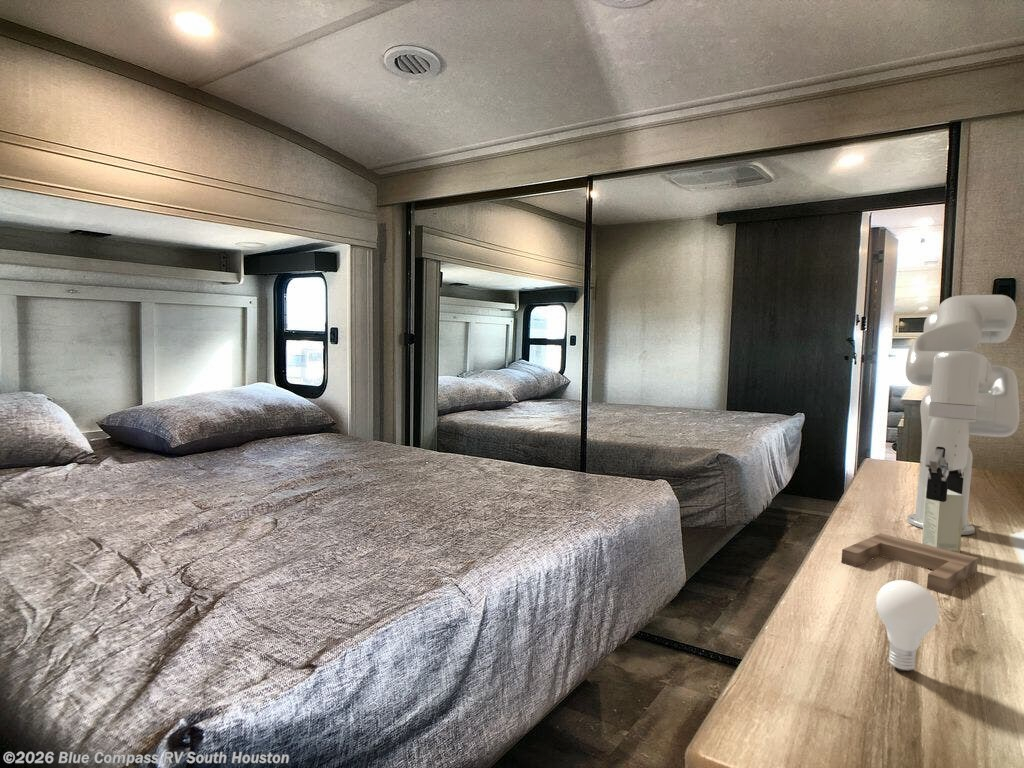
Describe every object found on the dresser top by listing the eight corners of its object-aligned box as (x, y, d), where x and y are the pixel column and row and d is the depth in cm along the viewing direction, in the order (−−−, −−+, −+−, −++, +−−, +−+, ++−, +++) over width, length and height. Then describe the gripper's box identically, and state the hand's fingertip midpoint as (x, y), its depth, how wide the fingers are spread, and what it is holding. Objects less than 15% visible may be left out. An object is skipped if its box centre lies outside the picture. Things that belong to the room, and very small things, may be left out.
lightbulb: (858, 655, 74) (865, 571, 73) (905, 655, 74) (912, 572, 73) (895, 684, 67) (904, 593, 67) (946, 684, 68) (954, 593, 67)
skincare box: (960, 556, 113) (966, 496, 112) (934, 554, 114) (940, 493, 113) (943, 546, 119) (948, 488, 119) (919, 543, 120) (924, 486, 119)
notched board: (879, 545, 118) (880, 533, 118) (976, 571, 106) (978, 557, 105) (841, 562, 107) (842, 549, 107) (944, 593, 95) (946, 579, 94)
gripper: (943, 410, 123) (936, 490, 124) (914, 411, 112) (906, 497, 113) (987, 414, 117) (979, 497, 118) (961, 415, 106) (953, 506, 107)
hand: (944, 497), depth 115 cm, fingers open, 9 cm apart
